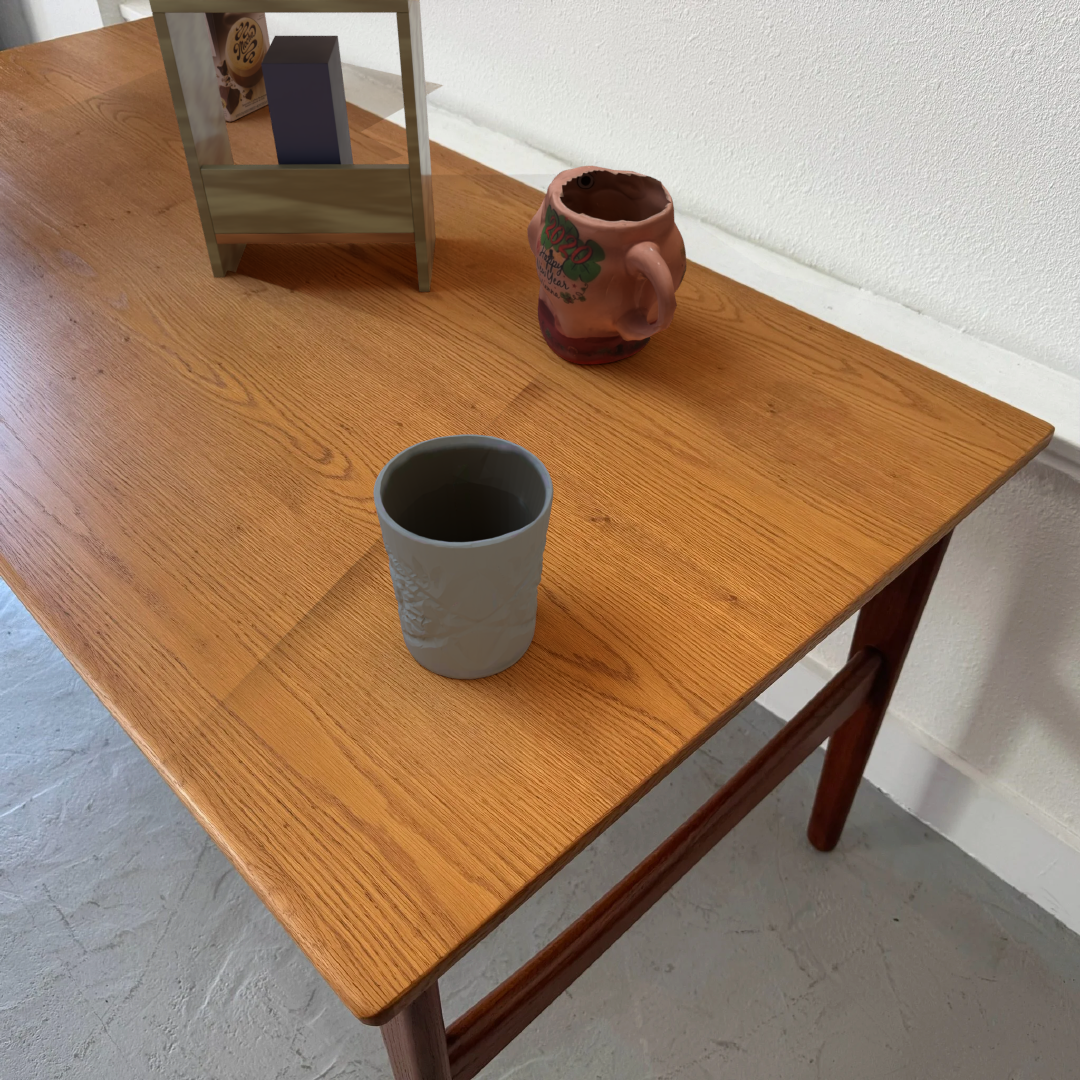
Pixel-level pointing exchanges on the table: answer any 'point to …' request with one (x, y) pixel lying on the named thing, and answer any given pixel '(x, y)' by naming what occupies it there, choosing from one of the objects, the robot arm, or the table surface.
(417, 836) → the table surface
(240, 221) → the shelf unit
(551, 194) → the pink ceramic mug
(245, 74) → the coffee box
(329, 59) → the carton
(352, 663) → the table surface
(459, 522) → the grey cup
